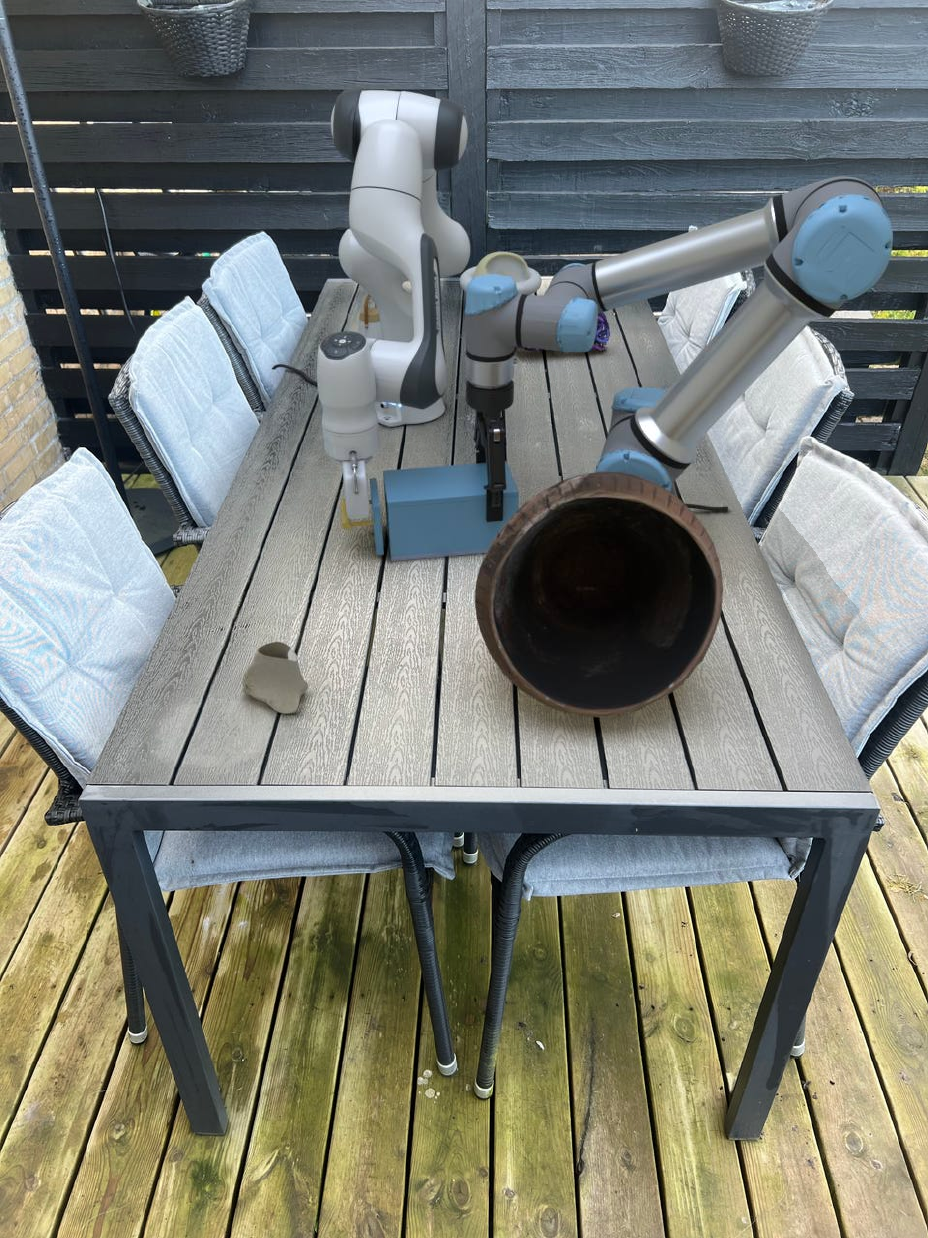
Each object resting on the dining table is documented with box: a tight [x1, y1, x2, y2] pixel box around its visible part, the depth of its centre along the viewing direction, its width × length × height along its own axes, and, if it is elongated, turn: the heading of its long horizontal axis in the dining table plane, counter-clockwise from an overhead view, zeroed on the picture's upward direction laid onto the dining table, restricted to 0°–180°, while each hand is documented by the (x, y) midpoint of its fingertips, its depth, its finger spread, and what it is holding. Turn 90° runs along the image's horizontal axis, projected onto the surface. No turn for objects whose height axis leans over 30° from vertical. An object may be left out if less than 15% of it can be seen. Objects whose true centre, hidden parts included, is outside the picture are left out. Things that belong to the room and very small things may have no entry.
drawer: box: [340, 477, 385, 556], centre depth 157 cm, size 25×10×9 cm, turn 98°
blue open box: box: [382, 460, 520, 562], centre depth 158 cm, size 22×11×11 cm, turn 98°
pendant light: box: [357, 293, 382, 340], centre depth 223 cm, size 8×8×30 cm
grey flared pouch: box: [241, 641, 309, 715], centre depth 126 cm, size 9×8×10 cm
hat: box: [459, 251, 543, 295], centre depth 248 cm, size 25×22×15 cm
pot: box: [474, 471, 724, 718], centre depth 130 cm, size 32×32×30 cm
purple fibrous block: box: [515, 312, 611, 354], centre depth 226 cm, size 13×11×30 cm
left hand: (358, 514), depth 156 cm, fingers closed
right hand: (489, 502), depth 158 cm, fingers closed on blue open box, 11 cm apart
